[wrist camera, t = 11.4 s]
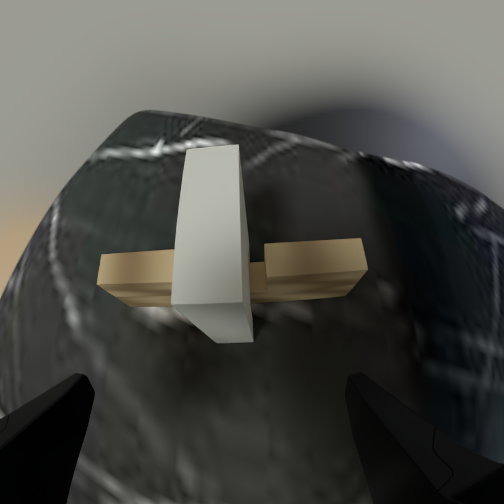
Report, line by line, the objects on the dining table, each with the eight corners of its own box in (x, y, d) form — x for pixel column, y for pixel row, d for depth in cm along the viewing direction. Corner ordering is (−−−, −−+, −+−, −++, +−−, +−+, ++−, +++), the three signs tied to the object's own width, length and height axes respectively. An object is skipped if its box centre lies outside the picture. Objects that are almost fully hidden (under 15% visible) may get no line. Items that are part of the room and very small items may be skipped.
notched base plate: (341, 270, 20) (361, 238, 16) (345, 295, 19) (368, 269, 15) (132, 282, 21) (101, 254, 16) (130, 306, 20) (96, 284, 15)
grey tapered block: (253, 341, 18) (242, 302, 9) (216, 343, 18) (171, 304, 9) (249, 242, 22) (238, 144, 13) (216, 244, 22) (186, 149, 13)
